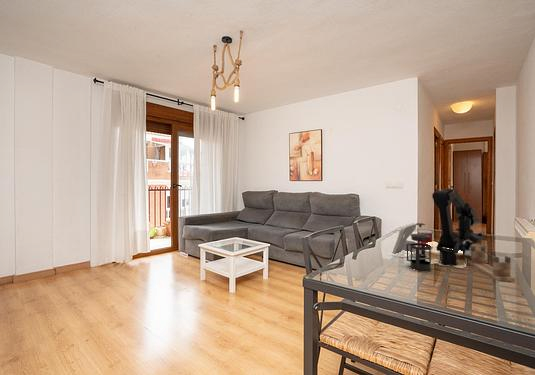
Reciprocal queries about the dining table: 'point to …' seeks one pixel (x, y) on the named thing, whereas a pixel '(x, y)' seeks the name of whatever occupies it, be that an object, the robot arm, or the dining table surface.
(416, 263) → the french press
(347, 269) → the dining table surface
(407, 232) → the phone holder
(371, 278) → the dining table surface
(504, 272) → the hook rack
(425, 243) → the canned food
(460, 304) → the dining table surface
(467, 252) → the steel bar
